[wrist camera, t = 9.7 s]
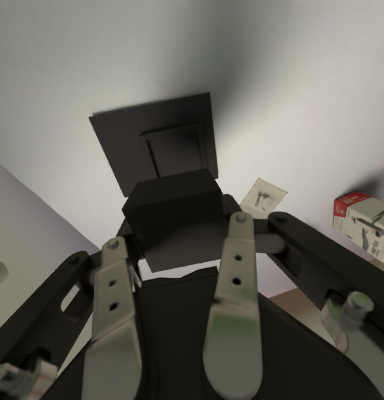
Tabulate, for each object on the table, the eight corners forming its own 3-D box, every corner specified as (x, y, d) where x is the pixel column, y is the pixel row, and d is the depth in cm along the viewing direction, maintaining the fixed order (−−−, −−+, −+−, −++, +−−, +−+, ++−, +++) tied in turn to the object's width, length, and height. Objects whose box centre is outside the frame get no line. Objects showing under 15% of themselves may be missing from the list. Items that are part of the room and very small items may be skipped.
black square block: (157, 235, 14) (151, 273, 11) (137, 182, 12) (120, 209, 8) (214, 223, 14) (227, 257, 11) (207, 167, 12) (221, 189, 8)
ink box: (333, 199, 31) (411, 239, 21) (357, 190, 31) (449, 226, 20) (332, 228, 35) (396, 274, 25) (353, 220, 35) (428, 264, 25)
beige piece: (224, 226, 32) (227, 235, 30) (258, 177, 27) (265, 182, 25) (251, 236, 34) (256, 244, 32) (288, 192, 29) (297, 198, 27)
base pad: (126, 194, 26) (122, 201, 24) (92, 117, 21) (83, 117, 18) (216, 176, 26) (220, 181, 24) (207, 93, 21) (211, 90, 18)
